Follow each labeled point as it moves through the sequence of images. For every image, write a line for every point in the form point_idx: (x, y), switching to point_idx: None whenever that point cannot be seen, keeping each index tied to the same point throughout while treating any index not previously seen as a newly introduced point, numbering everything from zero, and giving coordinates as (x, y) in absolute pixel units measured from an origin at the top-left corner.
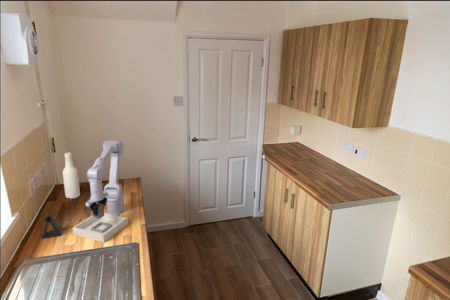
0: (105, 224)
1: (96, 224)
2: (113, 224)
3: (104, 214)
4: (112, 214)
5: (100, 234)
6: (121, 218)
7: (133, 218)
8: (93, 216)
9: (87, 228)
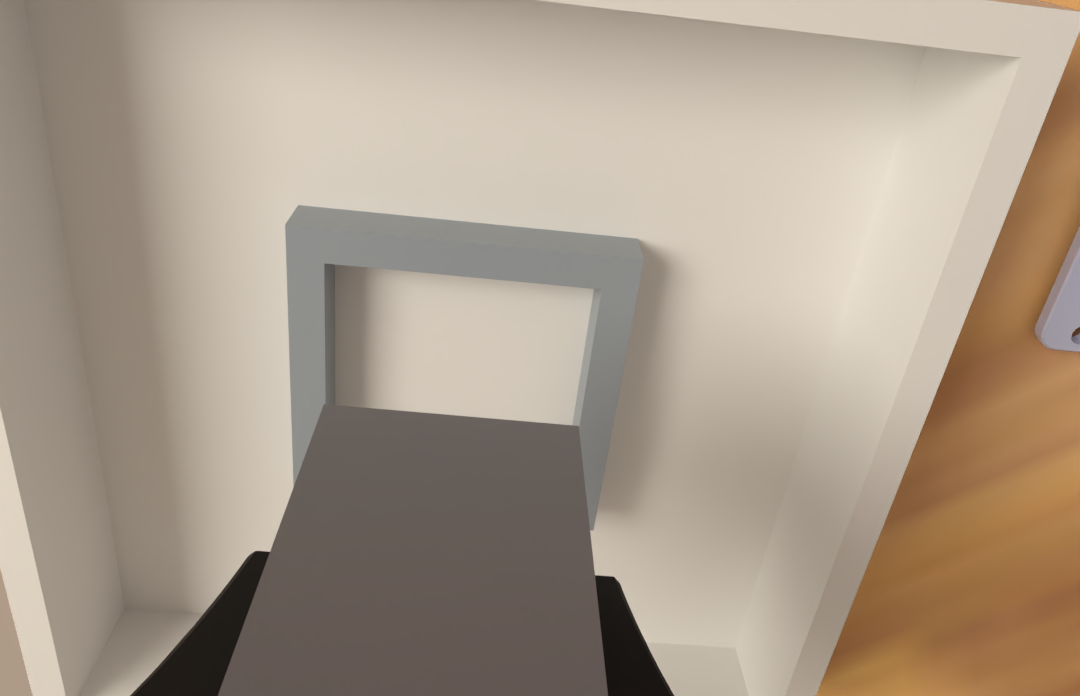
0: (581, 399)
1: (493, 245)
2: (664, 489)
3: (931, 241)
4: (897, 475)
5: (44, 680)
6: (780, 658)
7: (965, 641)
8: (314, 445)
9: (335, 69)
